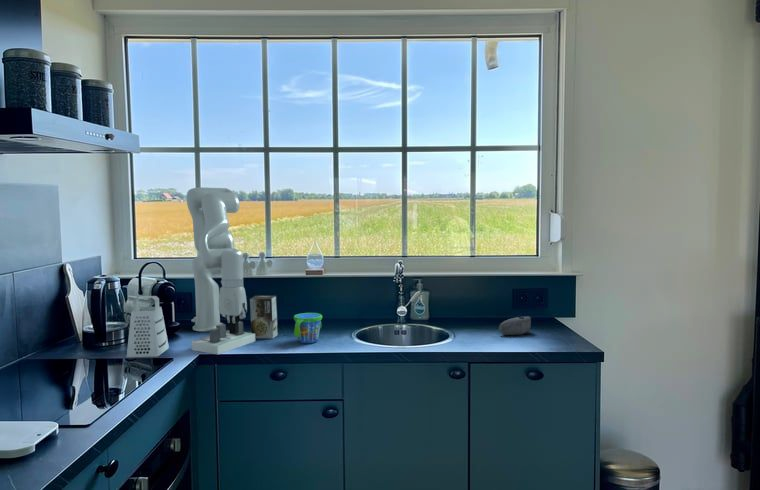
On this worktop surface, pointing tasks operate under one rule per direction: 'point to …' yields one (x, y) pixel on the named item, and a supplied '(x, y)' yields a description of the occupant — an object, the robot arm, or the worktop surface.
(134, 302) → the grater
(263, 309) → the coffee box
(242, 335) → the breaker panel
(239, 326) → the gray rectangular block
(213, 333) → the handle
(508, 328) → the perforated stone tool
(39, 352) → the worktop surface
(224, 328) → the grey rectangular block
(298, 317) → the snack cup
